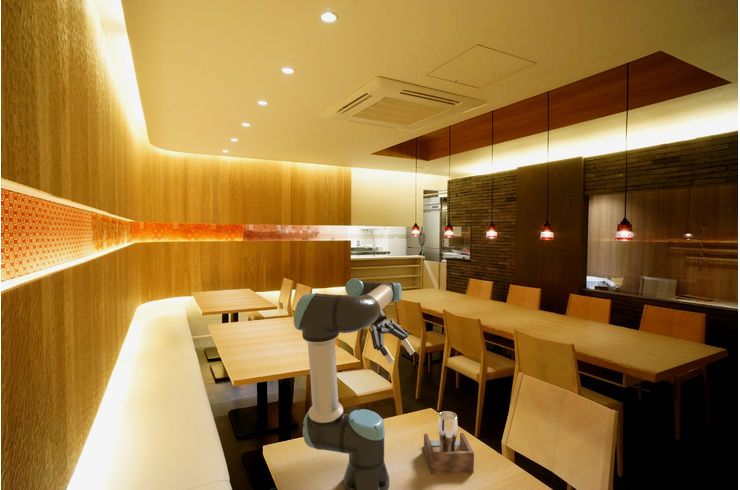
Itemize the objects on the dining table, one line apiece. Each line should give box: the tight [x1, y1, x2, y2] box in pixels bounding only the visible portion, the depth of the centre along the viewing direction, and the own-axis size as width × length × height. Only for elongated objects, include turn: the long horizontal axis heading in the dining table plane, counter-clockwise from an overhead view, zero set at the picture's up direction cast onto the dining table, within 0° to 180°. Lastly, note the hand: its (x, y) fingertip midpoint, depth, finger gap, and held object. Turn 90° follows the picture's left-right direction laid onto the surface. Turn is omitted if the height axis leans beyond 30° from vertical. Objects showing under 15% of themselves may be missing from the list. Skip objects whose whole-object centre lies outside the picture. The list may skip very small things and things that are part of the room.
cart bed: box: [423, 432, 475, 475], centre depth 146 cm, size 15×17×7 cm
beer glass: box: [437, 410, 459, 452], centre depth 144 cm, size 7×7×15 cm
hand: (402, 357), depth 158 cm, fingers open, 13 cm apart
